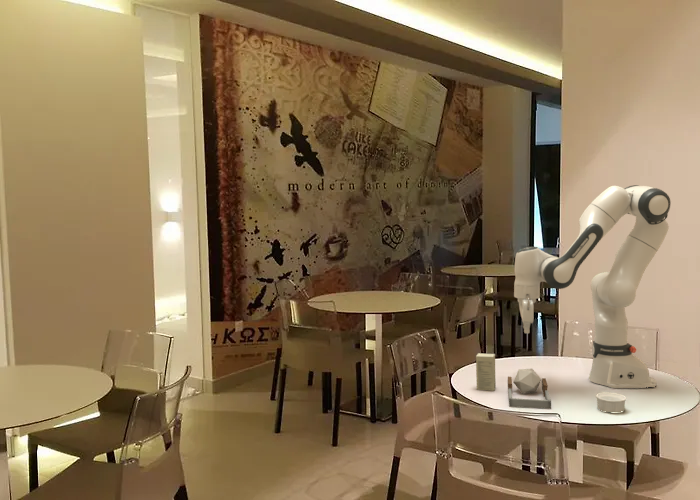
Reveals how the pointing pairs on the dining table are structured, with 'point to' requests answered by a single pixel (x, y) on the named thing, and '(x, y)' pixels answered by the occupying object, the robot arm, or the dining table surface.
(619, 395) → the ramekin
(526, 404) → the tray
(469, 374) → the dining table surface
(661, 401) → the dining table surface
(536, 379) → the die
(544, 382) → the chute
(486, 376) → the skincare box
